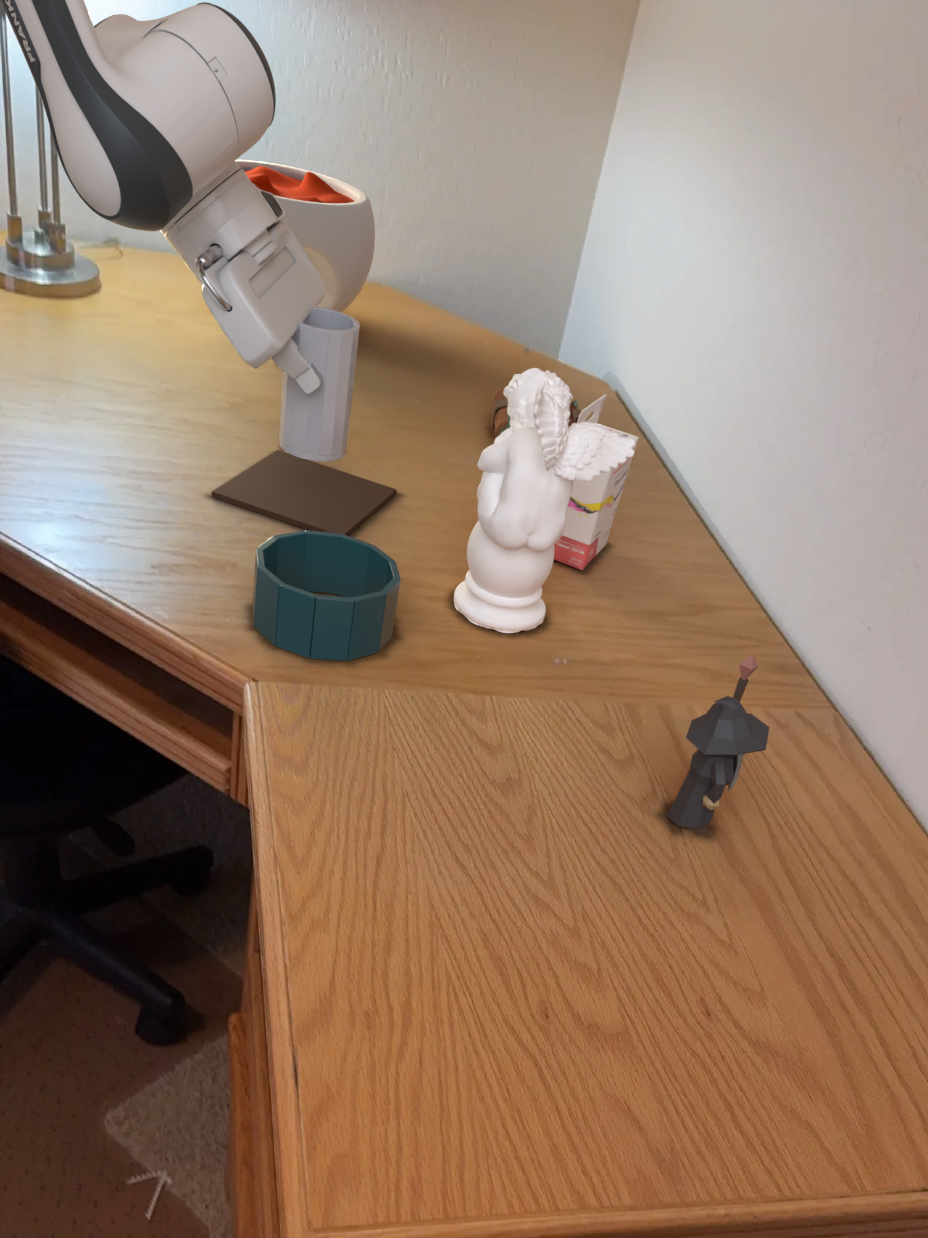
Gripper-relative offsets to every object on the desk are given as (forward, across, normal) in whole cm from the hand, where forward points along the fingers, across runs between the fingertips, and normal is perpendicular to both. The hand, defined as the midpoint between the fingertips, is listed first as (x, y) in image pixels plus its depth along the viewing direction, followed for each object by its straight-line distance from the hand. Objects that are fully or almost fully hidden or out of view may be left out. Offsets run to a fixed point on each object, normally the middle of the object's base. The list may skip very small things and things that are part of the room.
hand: (325, 374), depth 100 cm
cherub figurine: (+24, -16, -7) cm, 30 cm away
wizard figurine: (+35, -40, -18) cm, 56 cm away
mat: (+8, 0, +9) cm, 12 cm away
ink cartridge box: (+28, +1, -11) cm, 30 cm away
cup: (+5, 0, +5) cm, 7 cm away
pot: (-3, +54, +21) cm, 58 cm away
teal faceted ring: (+13, -24, +4) cm, 28 cm away
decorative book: (+25, +28, -7) cm, 38 cm away
